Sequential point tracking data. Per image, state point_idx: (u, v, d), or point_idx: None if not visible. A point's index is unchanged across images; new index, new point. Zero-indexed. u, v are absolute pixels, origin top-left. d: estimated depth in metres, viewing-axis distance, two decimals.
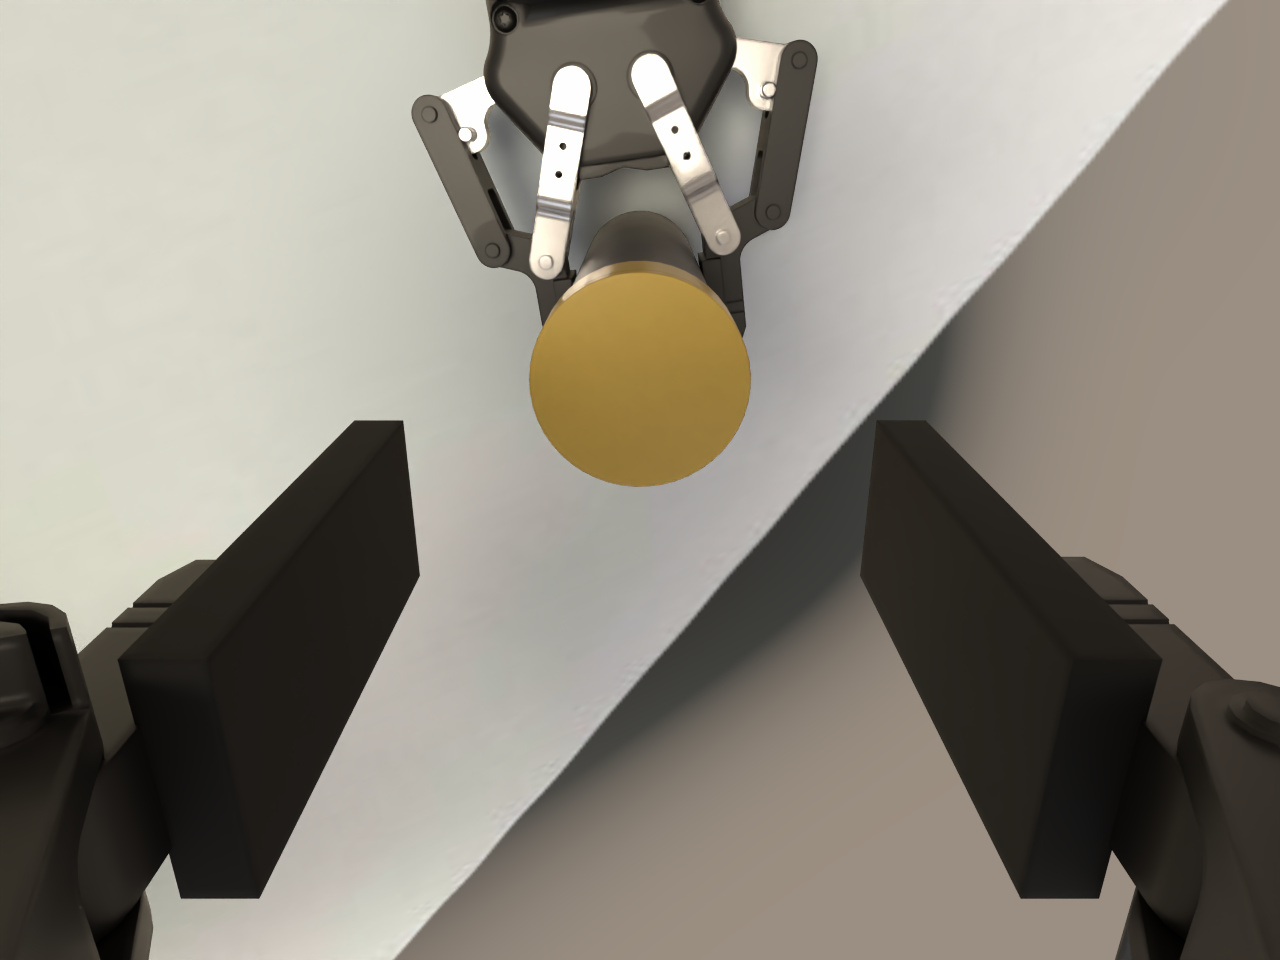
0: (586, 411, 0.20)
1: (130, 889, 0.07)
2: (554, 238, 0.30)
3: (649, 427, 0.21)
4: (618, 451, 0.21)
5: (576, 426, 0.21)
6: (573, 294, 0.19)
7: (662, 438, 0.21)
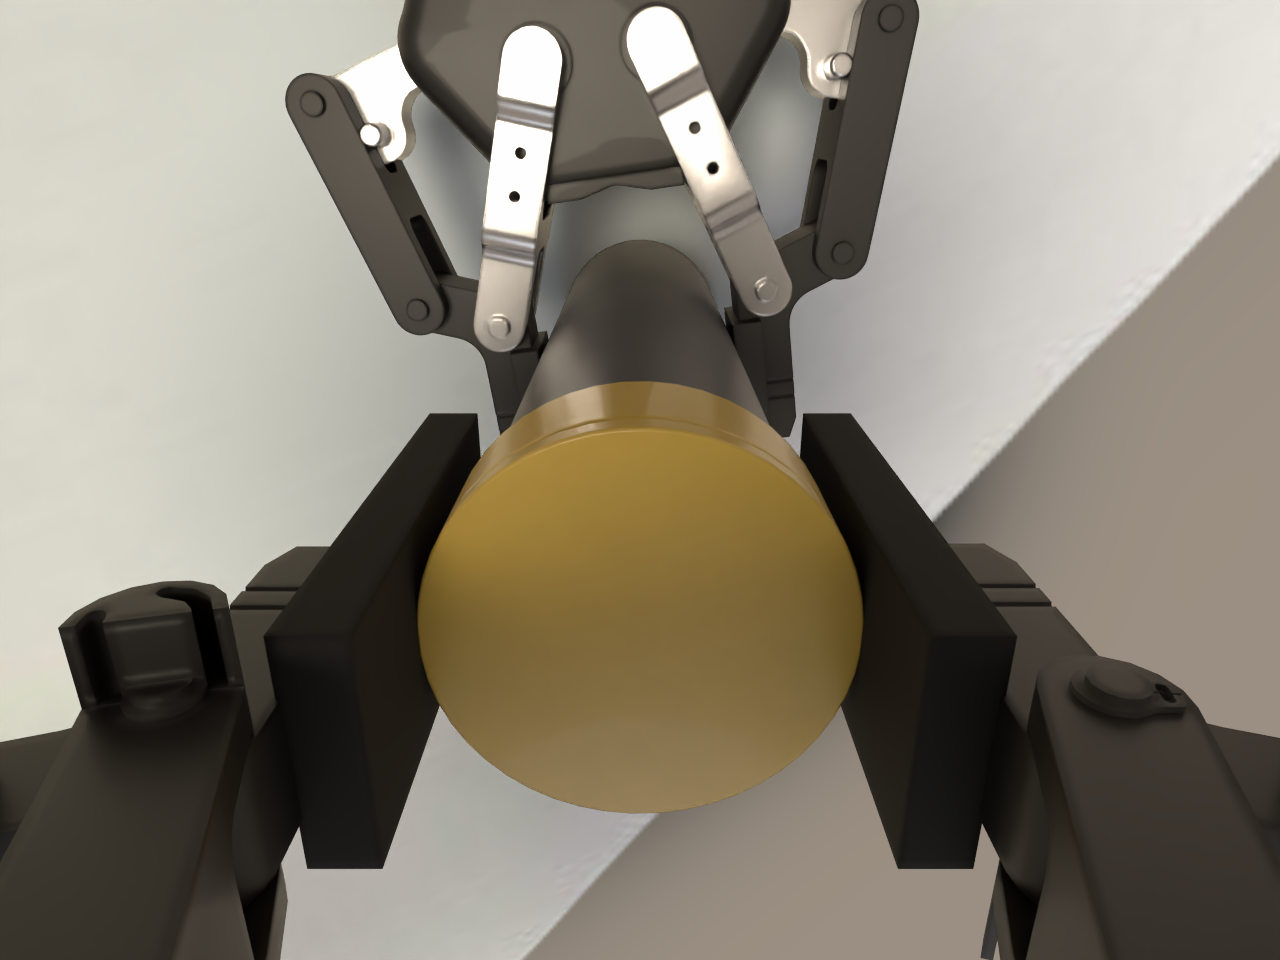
0: (533, 686, 0.10)
1: (273, 856, 0.08)
2: (511, 292, 0.20)
3: (659, 715, 0.10)
4: (598, 755, 0.11)
5: (514, 713, 0.10)
6: (500, 471, 0.09)
7: (685, 733, 0.11)
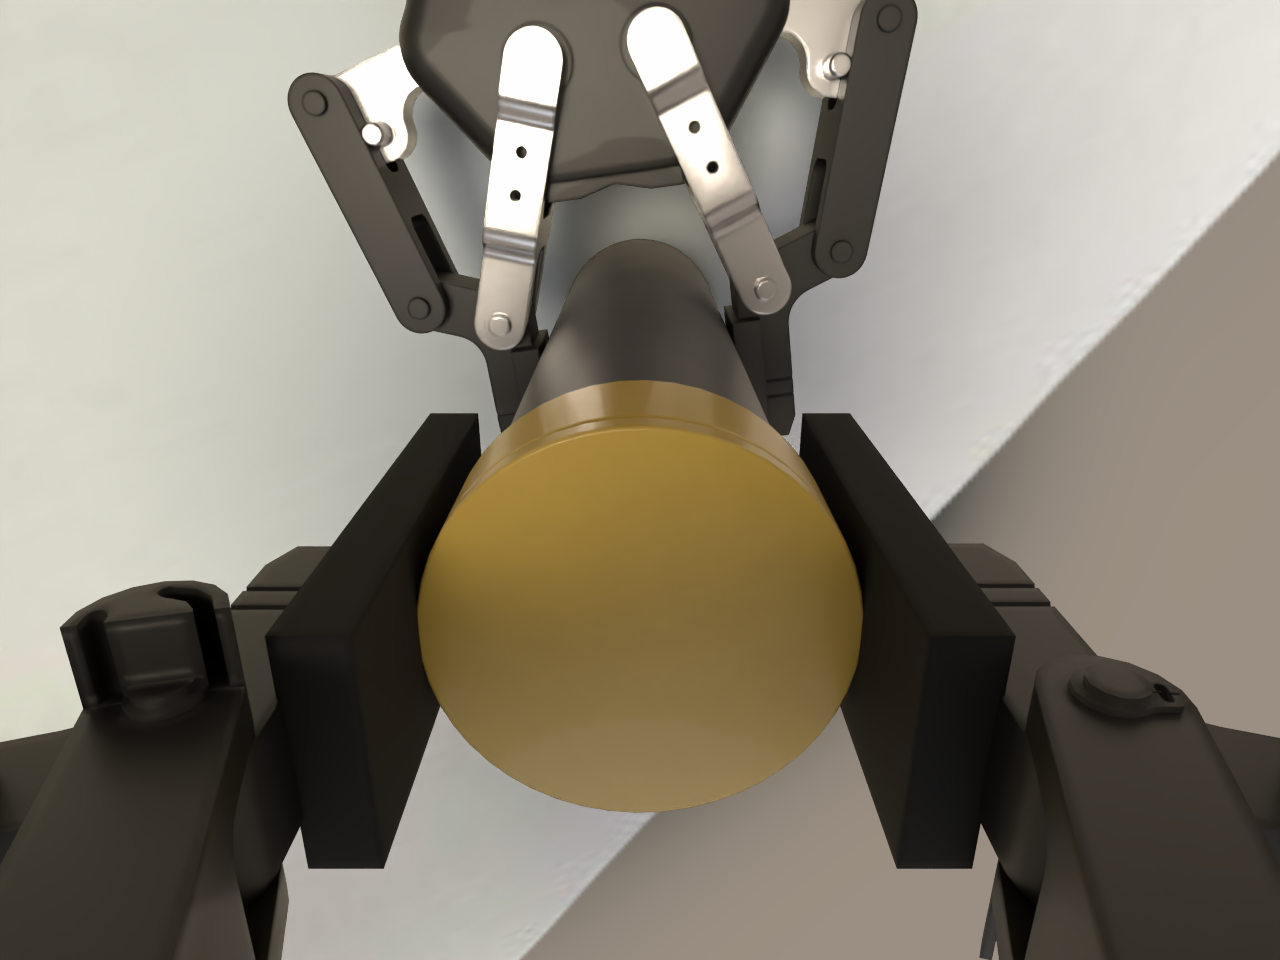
0: (681, 732, 0.11)
1: (274, 856, 0.08)
2: (512, 290, 0.20)
3: (732, 631, 0.10)
4: (773, 689, 0.10)
5: (708, 752, 0.11)
6: (455, 726, 0.10)
7: (761, 609, 0.10)
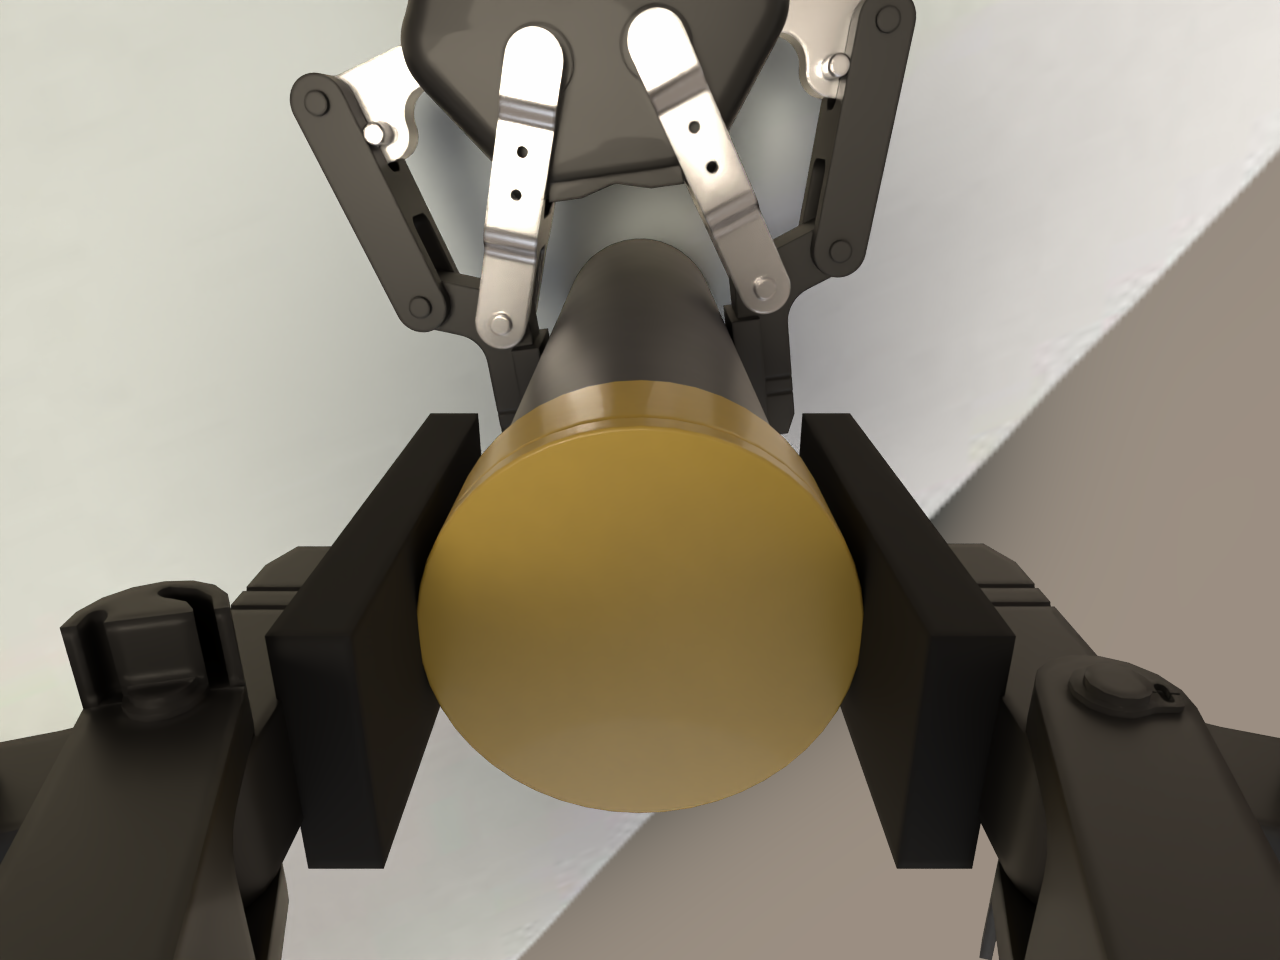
0: (760, 612, 0.10)
1: (275, 856, 0.08)
2: (513, 289, 0.20)
3: (641, 557, 0.10)
4: (720, 521, 0.09)
5: (791, 589, 0.10)
6: (718, 800, 0.11)
7: (619, 529, 0.09)
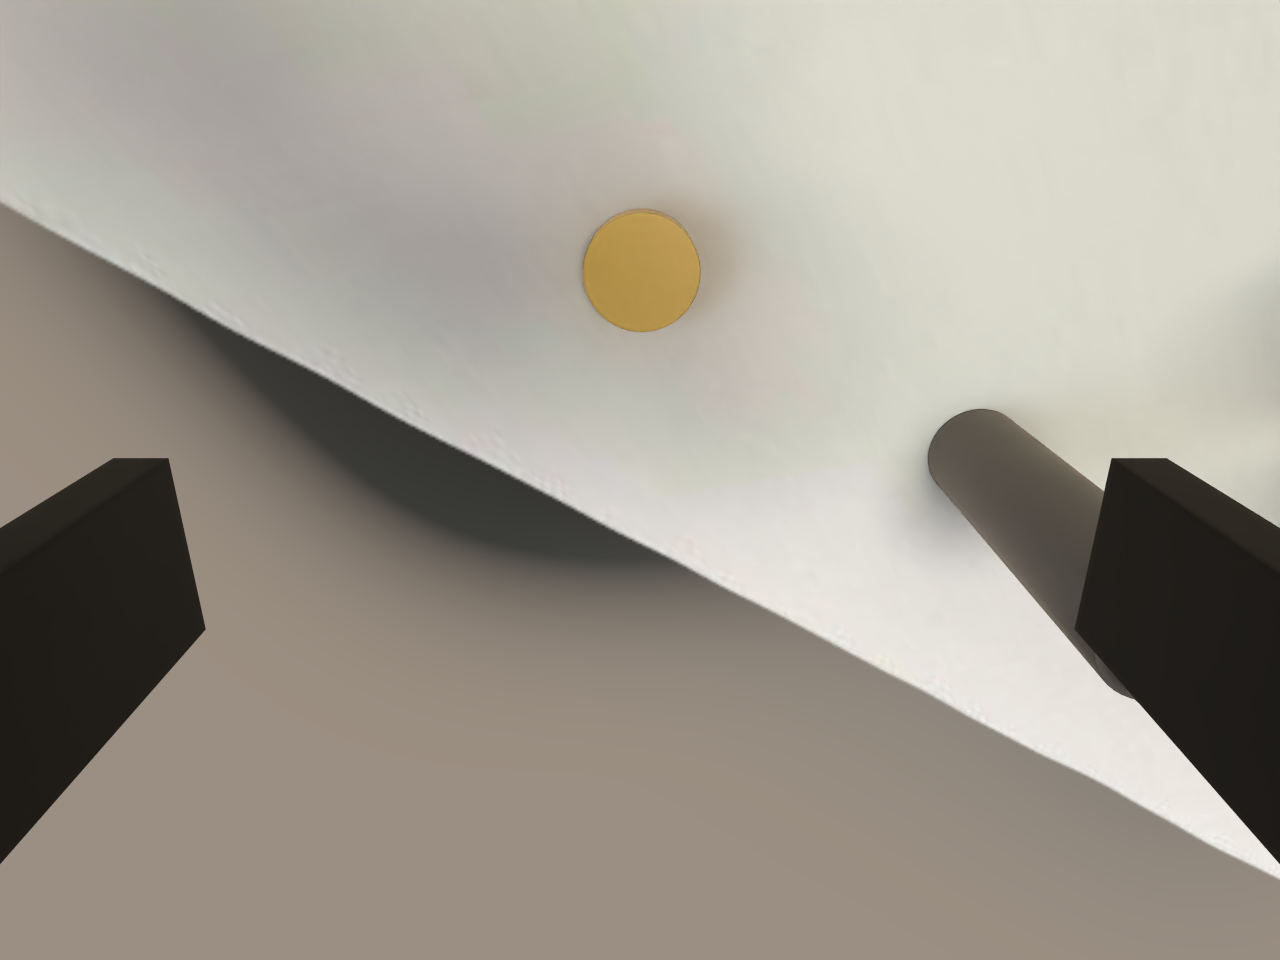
0: (609, 274, 0.38)
1: None
2: None
3: (636, 297, 0.38)
4: (615, 302, 0.39)
5: (600, 279, 0.38)
6: (631, 213, 0.37)
7: (639, 306, 0.39)
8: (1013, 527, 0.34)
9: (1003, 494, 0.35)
